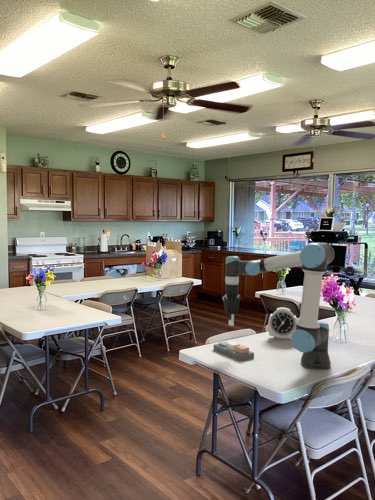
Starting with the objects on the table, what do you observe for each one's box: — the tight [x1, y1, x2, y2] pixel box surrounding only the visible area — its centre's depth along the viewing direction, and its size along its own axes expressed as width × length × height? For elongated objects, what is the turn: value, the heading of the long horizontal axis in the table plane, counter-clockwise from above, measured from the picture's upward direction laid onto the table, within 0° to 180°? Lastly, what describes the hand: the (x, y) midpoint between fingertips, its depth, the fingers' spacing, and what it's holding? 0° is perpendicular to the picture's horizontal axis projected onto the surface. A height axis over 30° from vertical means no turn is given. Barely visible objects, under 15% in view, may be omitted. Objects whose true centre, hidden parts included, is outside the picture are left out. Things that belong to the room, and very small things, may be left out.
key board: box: [213, 343, 255, 362], centre depth 242 cm, size 23×10×3 cm, turn 35°
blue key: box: [218, 341, 229, 347], centre depth 248 cm, size 5×5×3 cm
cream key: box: [227, 341, 241, 351], centre depth 242 cm, size 5×5×3 cm
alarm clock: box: [267, 306, 298, 342], centre depth 275 cm, size 18×8×20 cm, turn 76°
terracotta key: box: [236, 344, 250, 354], centre depth 235 cm, size 5×5×3 cm
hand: (231, 325), depth 243 cm, fingers closed
